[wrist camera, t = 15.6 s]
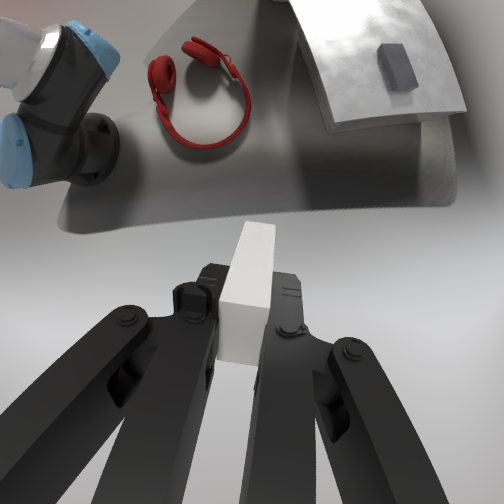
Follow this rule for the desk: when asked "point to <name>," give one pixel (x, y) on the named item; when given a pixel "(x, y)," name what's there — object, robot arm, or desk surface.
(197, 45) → the headphones
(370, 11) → the lid
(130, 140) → the desk surface
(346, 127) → the open-top storage bin
